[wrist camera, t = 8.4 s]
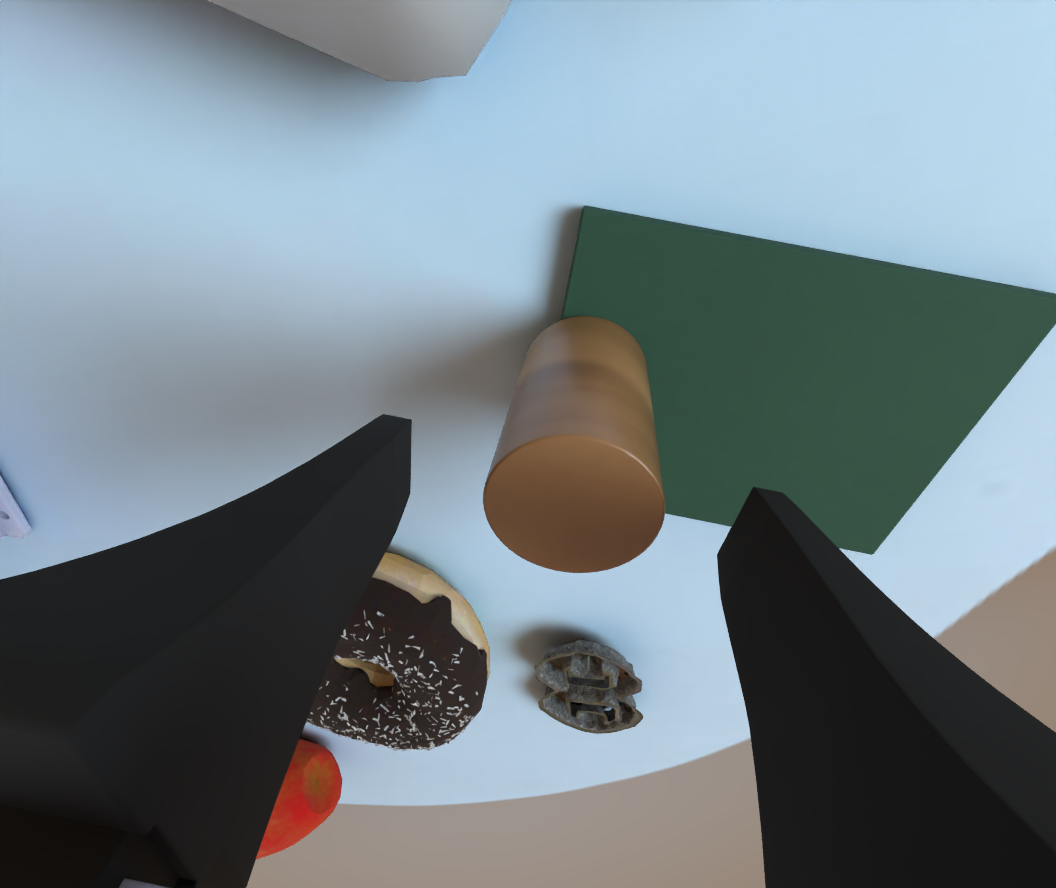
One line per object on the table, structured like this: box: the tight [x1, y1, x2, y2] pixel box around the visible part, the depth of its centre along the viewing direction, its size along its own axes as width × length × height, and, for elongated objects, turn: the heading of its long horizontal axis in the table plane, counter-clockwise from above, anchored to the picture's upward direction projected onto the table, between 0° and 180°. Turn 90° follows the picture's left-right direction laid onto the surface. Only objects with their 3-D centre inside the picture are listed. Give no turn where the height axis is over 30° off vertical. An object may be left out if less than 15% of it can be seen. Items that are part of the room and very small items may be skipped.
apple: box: [256, 739, 342, 859], centre depth 31 cm, size 6×6×8 cm
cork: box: [483, 316, 665, 573], centre depth 13 cm, size 4×4×6 cm
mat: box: [561, 206, 1056, 554], centre depth 15 cm, size 9×12×1 cm
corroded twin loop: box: [534, 640, 643, 733], centre depth 24 cm, size 5×8×1 cm, turn 6°
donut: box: [306, 552, 490, 751], centre depth 23 cm, size 11×12×4 cm
